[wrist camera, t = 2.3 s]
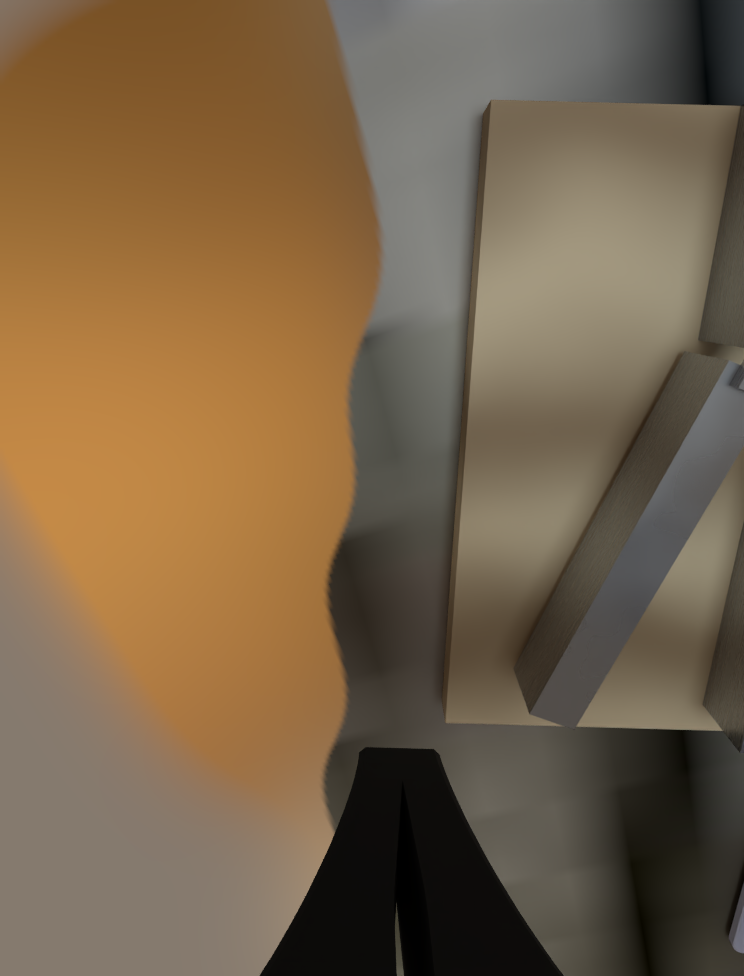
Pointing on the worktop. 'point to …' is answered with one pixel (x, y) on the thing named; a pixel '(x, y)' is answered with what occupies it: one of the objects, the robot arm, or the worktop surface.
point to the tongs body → (740, 643)
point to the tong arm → (635, 537)
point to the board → (584, 391)
